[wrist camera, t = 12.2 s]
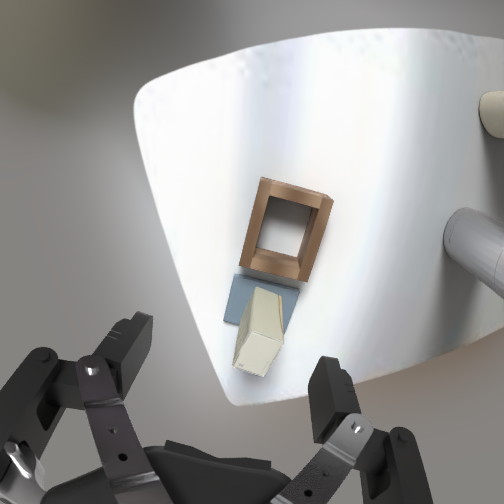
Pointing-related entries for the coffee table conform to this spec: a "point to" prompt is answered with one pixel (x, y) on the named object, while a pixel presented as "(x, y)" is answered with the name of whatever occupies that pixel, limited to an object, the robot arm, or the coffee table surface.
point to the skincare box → (259, 333)
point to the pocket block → (311, 240)
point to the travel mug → (493, 113)
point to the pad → (244, 290)
